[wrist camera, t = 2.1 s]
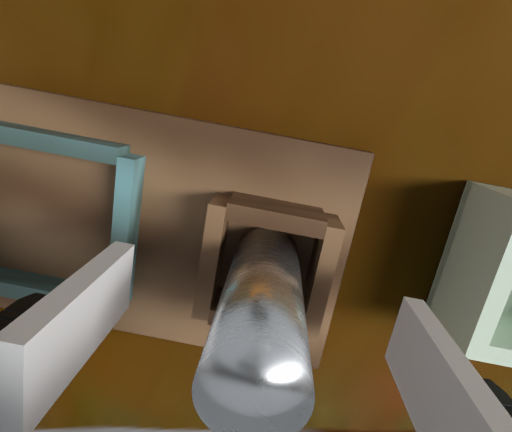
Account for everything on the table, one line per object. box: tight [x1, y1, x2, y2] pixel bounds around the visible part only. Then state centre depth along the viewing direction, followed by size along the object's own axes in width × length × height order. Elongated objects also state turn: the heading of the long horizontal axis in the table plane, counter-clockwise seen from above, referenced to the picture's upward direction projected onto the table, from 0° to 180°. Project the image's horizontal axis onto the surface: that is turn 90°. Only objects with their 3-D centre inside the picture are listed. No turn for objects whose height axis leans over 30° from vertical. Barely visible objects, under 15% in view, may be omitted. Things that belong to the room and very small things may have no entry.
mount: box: [0, 83, 374, 369], centre depth 19 cm, size 12×20×4 cm, turn 80°
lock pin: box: [192, 227, 315, 432], centre depth 15 cm, size 3×3×10 cm
